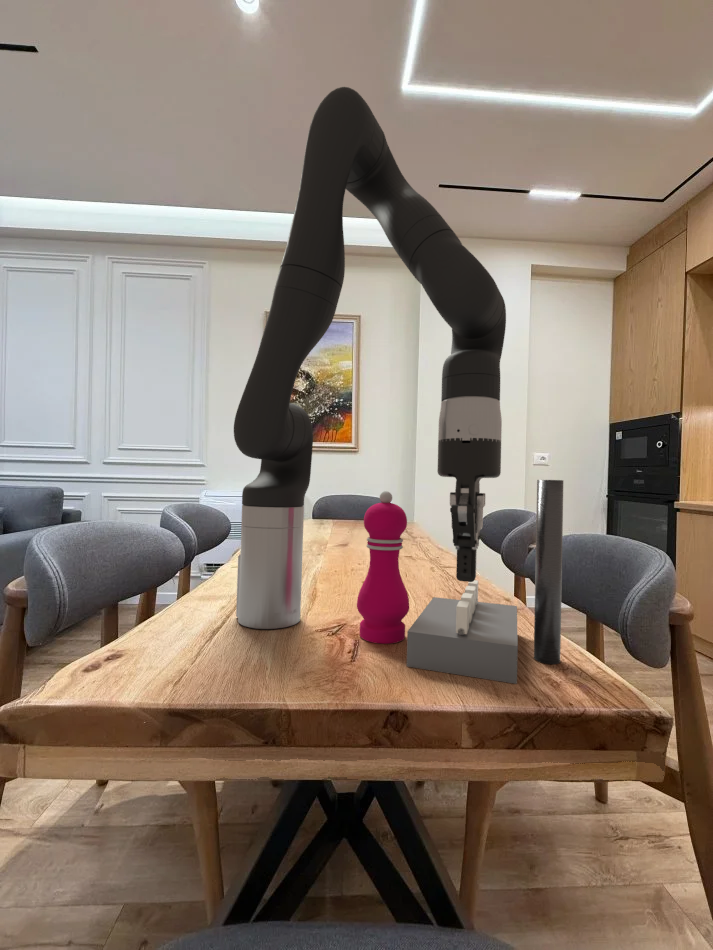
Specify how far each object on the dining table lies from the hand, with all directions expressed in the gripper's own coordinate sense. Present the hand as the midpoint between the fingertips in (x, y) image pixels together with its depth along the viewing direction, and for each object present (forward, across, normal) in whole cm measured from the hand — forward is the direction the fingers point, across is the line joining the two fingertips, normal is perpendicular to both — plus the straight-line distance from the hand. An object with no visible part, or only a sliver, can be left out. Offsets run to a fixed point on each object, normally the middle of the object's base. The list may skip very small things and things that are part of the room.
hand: (466, 580), depth 56 cm
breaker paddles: (+6, -4, 0) cm, 7 cm away
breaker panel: (+10, -4, 0) cm, 10 cm away
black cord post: (+10, -4, +10) cm, 14 cm away
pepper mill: (+10, -4, -12) cm, 16 cm away
